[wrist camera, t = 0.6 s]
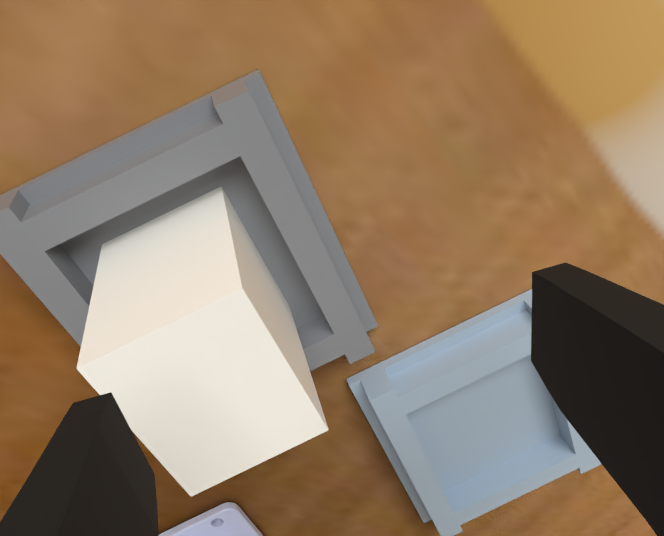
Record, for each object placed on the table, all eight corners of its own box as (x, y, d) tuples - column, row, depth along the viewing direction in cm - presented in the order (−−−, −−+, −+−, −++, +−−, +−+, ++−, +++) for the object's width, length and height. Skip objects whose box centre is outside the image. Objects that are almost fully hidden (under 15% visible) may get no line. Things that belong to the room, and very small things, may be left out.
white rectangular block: (185, 357, 21) (191, 496, 16) (101, 244, 18) (76, 369, 13) (289, 306, 21) (328, 430, 16) (221, 186, 18) (242, 288, 13)
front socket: (158, 425, 22) (158, 457, 21) (-27, 207, 17) (-43, 232, 16) (375, 320, 22) (388, 345, 21) (258, 69, 17) (265, 81, 16)
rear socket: (420, 516, 29) (433, 545, 27) (346, 378, 24) (357, 406, 22) (589, 434, 29) (610, 459, 27) (553, 278, 23) (577, 300, 22)
